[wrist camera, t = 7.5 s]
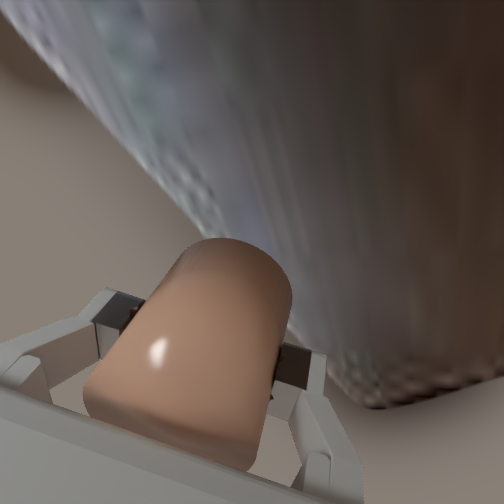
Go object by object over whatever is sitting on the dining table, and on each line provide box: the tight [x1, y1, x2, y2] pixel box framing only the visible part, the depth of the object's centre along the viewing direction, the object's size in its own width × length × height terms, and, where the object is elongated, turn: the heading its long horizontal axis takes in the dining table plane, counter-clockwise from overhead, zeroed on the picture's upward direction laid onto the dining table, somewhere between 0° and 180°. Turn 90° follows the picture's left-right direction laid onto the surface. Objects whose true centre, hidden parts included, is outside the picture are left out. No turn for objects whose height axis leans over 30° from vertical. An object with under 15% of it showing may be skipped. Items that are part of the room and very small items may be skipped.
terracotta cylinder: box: [83, 238, 292, 472], centre depth 12 cm, size 5×5×6 cm
